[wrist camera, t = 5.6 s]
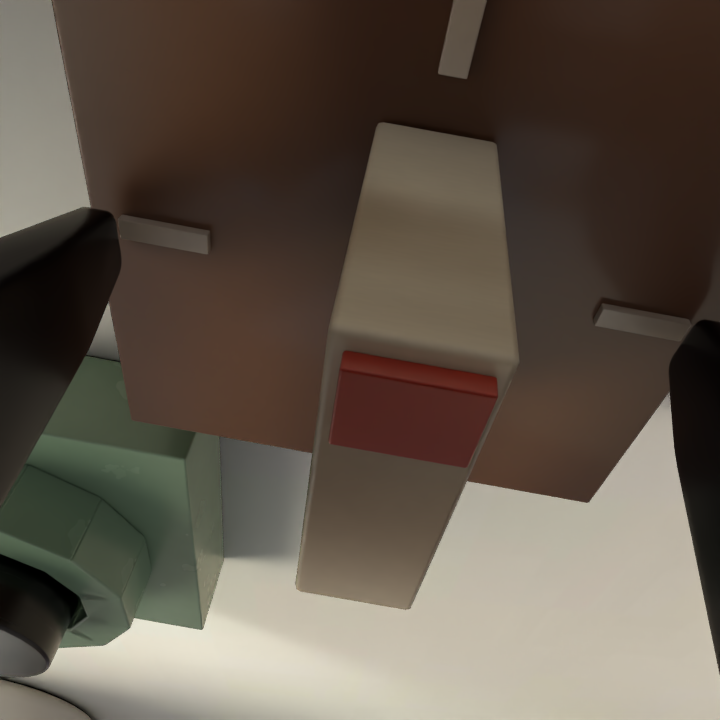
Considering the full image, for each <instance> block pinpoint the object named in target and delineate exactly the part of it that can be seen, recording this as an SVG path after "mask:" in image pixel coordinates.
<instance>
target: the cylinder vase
mask: <svg viewBox="0 0 720 720" xmlns="http://www.w3.org/2000/svg"><path fill="white" fill-rule="evenodd" d="M0 720H91V718H90V717H89V716H88V715H87V714H85V713H84V712H83V711H81V710H80V709H78V708H77V707H75V706H73V705H71V704H70V703H68V702H66V701H64V700H61V699H59V698H57V697H55V696H52V695H50V694H47V693H45V692H42V691H39V690H36V689H33V688H30V687H27V686H24V685H20V684H17V683H13V682H9V681H5V680H1V679H0Z"/></svg>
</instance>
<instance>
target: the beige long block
mask: <svg viewBox="0 0 720 720" xmlns="http://www.w3.org/2000/svg"><path fill="white" fill-rule="evenodd" d="M519 363H520V360H519V351H518V341H517V332H516V322H515V313H514V303H513V294H512V285H511V275H510V266H509V256H508V247H507V237H506V228H505V218H504V209H503V200H502V190H501V181H500V171H499V162H498V152H497V145H496V144H495V143H493V142H489V141H484V140H478V139H473V138H467V137H462V136H456V135H451V134H445V133H440V132H434V131H429V130H423V129H418V128H412V127H407V126H401V125H396V124H390V123H385V122H382V123H378V125H377V127H376V130H375V134H374V138H373V142H372V147H371V151H370V155H369V159H368V163H367V168H366V172H365V176H364V180H363V185H362V189H361V193H360V197H359V201H358V206H357V210H356V214H355V218H354V222H353V227H352V231H351V235H350V239H349V243H348V248H347V252H346V256H345V260H344V265H343V269H342V273H341V277H340V281H339V286H338V290H337V294H336V298H335V302H334V307H333V311H332V315H331V319H330V324H329V328H328V335H327V343H326V351H325V358H324V366H323V374H322V382H321V389H320V397H319V405H318V413H317V420H316V428H315V436H314V444H313V451H312V459H311V467H310V475H309V482H308V490H307V498H306V506H305V513H304V521H303V529H302V537H301V544H300V552H299V560H298V568H297V575H296V583H295V585H296V589H297V590H299V591H301V592H307V593H313V594H318V595H324V596H330V597H336V598H341V599H347V600H353V601H358V602H364V603H370V604H376V605H381V606H387V607H393V608H398V609H404V610H406V609H410V608H411V606H412V604H413V602H414V599H415V597H416V595H417V593H418V590H419V588H420V586H421V584H422V581H423V579H424V577H425V575H426V572H427V570H428V568H429V566H430V563H431V561H432V559H433V557H434V554H435V552H436V550H437V548H438V545H439V543H440V541H441V539H442V536H443V534H444V532H445V529H446V527H447V525H448V523H449V520H450V518H451V516H452V514H453V511H454V509H455V507H456V505H457V502H458V500H459V498H460V496H461V493H462V491H463V489H464V487H465V484H466V482H467V480H468V478H469V475H470V473H471V471H472V469H473V466H474V464H475V462H476V460H477V457H478V455H479V453H480V451H481V448H482V446H483V444H484V442H485V439H486V437H487V435H488V433H489V430H490V428H491V426H492V424H493V421H494V419H495V417H496V415H497V412H498V410H499V408H500V406H501V403H502V401H503V399H504V397H505V394H506V392H507V390H508V388H509V385H510V383H511V381H512V379H513V376H514V374H515V372H516V369H517V367H518V365H519Z"/></svg>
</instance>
